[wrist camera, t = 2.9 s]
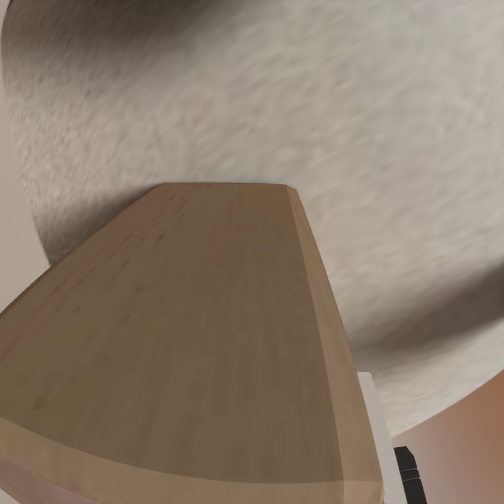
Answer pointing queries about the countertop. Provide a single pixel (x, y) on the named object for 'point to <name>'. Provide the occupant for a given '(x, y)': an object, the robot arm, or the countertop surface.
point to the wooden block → (186, 362)
